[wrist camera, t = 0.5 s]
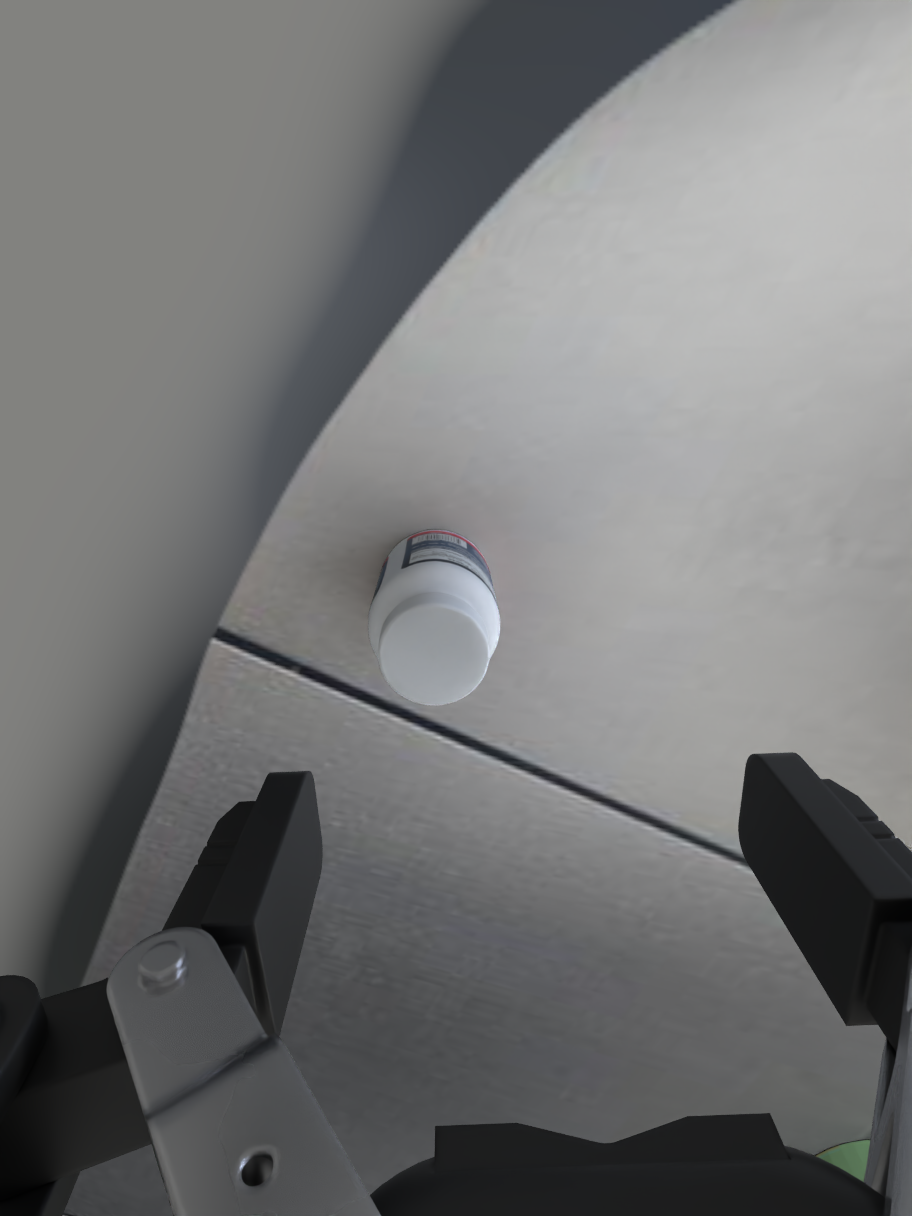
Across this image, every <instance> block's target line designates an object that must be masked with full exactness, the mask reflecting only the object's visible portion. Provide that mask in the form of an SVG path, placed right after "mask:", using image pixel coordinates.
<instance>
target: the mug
mask: <svg viewBox="0 0 912 1216" xmlns="http://www.w3.org/2000/svg"><path fill="white" fill-rule="evenodd" d="M869 1145H870V1140H863V1141H856V1142H850V1143H846V1144H842V1145H839V1146H836V1147H833V1148H831V1149H828V1150H826V1151H824V1152H822V1153H820V1154H818V1155H816V1157H819V1158H821V1159H823V1160H825V1161H827V1162H829V1163H831V1164H833V1165H835V1166H837V1167H839V1168H841V1169H843V1170H844V1171H846V1172H848V1173H849V1174H851V1175H853V1176H854V1177H856V1178H858V1179H860V1180H861V1181H863V1182H864V1177H865V1171H866V1165H867V1159H868V1152H869Z"/></svg>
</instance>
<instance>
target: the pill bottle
mask: <svg viewBox="0 0 912 1216" xmlns="http://www.w3.org/2000/svg"><path fill="white" fill-rule="evenodd" d="M368 633H369V639H370V643H371V646H372V649H373V651H374V653H375V655H376V657H377V658H378V662H379V666H380V670H381V672H382V675H383V677H384V678H385V680H386V681H387V683H388V684H389V686H390V687H391V688H392V689H393V690H394V691H395V692H396V693H398V694H400V695H401V696H402V697H404V698H406V699H407V700H410V701H412V702H415V703H418V704H423V705H445V704H449V703H452V702H455V701H458V700H460V699H462V698H463V697H465V696H467V695H469V694H470V693H471V692H472V691H473V690H474V689H475V688H476V687H477V686H478V685H479V683H480V682H481V681H482V679H483V677H484V675H485V673H486V670H487V667H488V664H489V659H490V658H491V656H492V655H493V653H494V651H495V649H496V646H497V643H498V639H499V634H500V615H499V609H498V605H497V600H496V596H495V592H494V588H493V584H492V579H491V574H490V570H489V567H488V565H487V562H486V560H485V558H484V556H483V555H482V553H481V552H480V551H479V549H478V548H477V547H476V546H475V545H474V544H473V543H472V542H470V541H469V540H468V539H466V538H465V537H463V536H461V535H459V534H456V533H453V532H450V531H446V530H425V531H421V532H418V533H415V534H413V535H411V536H409V537H407V538H405V539H404V540H402V541H401V542H400V543H399V544H398V545H397V546H396V547H395V548H394V549H393V550H392V551H391V552H390V554H389V555H388V557H387V558H386V560H385V562H384V564H383V567H382V570H381V573H380V576H379V580H378V583H377V587H376V590H375V594H374V597H373V600H372V603H371V606H370V610H369V616H368Z"/></svg>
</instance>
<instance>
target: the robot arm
mask: <svg viewBox="0 0 912 1216" xmlns="http://www.w3.org/2000/svg"><path fill="white" fill-rule="evenodd" d="M738 832H739V840H740V845H741V849H742V852H743V855H744V857H745V859H746V861H747V863H748V864H749V866H750V868H751V869H752V871H753V873H754V874H755V876H756V878H757V879H758V881H759V883H760V884H761V886H762V888H763V889H764V891H765V892H766V894H767V896H768V897H769V899H770V901H771V902H772V904H773V906H774V907H775V909H776V911H777V912H778V914H779V916H780V917H781V919H782V920H783V922H784V924H785V925H786V927H787V929H788V930H789V932H790V934H791V935H792V937H793V939H794V940H795V942H796V944H797V945H798V947H799V949H800V950H801V952H802V953H803V955H804V957H805V958H806V960H807V962H808V963H809V965H810V967H811V968H812V970H813V972H814V973H815V975H816V977H817V978H818V980H819V981H820V983H821V985H822V986H823V988H824V990H825V991H826V993H827V995H828V996H829V998H830V1000H831V1001H832V1003H833V1005H834V1006H835V1008H836V1009H837V1011H838V1013H839V1014H840V1016H841V1018H842V1019H843V1021H844V1023H845V1024H846V1026H854V1025H879V1027H880V1028H881V1030H882V1031H883V1033H884V1034H885V1036H886V1037H887V1038H886V1042H885V1046H884V1050H883V1053H882V1060H881V1067H880V1074H879V1081H878V1088H877V1095H876V1102H875V1110H874V1117H873V1124H872V1131H871V1138H870V1145H869V1152H868V1159H867V1165H866V1171H865V1177H864V1182H863V1181H861V1180H860V1179H858V1178H856V1177H854V1176H853V1175H851V1174H849V1173H848V1172H846V1171H844V1170H843V1169H841V1168H839V1167H837V1166H835V1165H833V1164H831V1163H829V1162H827V1161H825V1160H823V1159H821V1158H819V1157H816V1156H814V1155H811V1154H808V1153H805V1152H803V1151H800V1150H797V1149H794V1148H791V1147H787V1146H784V1145H783V1142H782V1140H781V1138H780V1136H779V1133H778V1131H777V1129H776V1126H775V1124H774V1122H773V1119H772V1117H771V1115H770V1113H765V1114H739V1115H713V1116H687V1117H685V1118H682V1119H679V1120H676V1121H673V1122H671V1123H668V1124H665V1125H662V1126H659V1127H657V1128H654V1129H651V1130H648V1131H645V1132H643V1133H640V1134H637V1135H634V1136H631V1137H629V1138H626V1139H623V1140H620V1141H617V1142H614V1143H605V1144H604V1143H598V1142H593V1141H589V1140H585V1139H581V1138H577V1137H573V1136H569V1135H565V1134H561V1133H556V1132H552V1131H548V1130H544V1129H540V1128H536V1127H532V1126H528V1125H524V1124H519V1123H504V1124H478V1125H452V1126H435V1157H433V1158H430V1159H428V1160H425V1161H422V1162H420V1163H417V1164H416V1165H414V1166H412V1167H410V1168H408V1169H406V1170H404V1171H402V1172H400V1173H398V1174H397V1175H396V1176H394V1177H393V1178H391V1179H390V1180H388V1181H387V1182H385V1183H384V1184H382V1185H381V1186H380V1187H379V1188H378V1189H376V1190H375V1191H374V1192H373V1193H372V1194H371V1195H369V1193H368V1192H367V1190H366V1188H365V1186H364V1185H363V1183H362V1181H361V1179H360V1177H359V1176H358V1174H357V1172H356V1170H355V1169H354V1167H353V1165H352V1163H351V1161H350V1160H349V1158H348V1156H347V1154H346V1152H345V1151H344V1149H343V1147H342V1145H341V1144H340V1142H339V1140H338V1138H337V1136H336V1135H335V1133H334V1131H333V1129H332V1128H331V1126H330V1124H329V1122H328V1120H327V1119H326V1117H325V1115H324V1113H323V1112H322V1110H321V1108H320V1106H319V1104H318V1103H317V1101H316V1099H315V1097H314V1096H313V1094H312V1092H311V1090H310V1088H309V1087H308V1085H307V1083H306V1081H305V1079H304V1078H303V1076H302V1074H301V1072H300V1071H299V1069H298V1067H297V1065H296V1063H295V1062H294V1060H293V1058H292V1056H291V1055H290V1053H289V1051H288V1049H287V1048H286V1046H285V1044H284V1043H283V1041H282V1040H281V1038H280V1037H279V1035H280V1032H281V1028H282V1024H283V1020H284V1016H285V1012H286V1008H287V1004H288V1000H289V996H290V992H291V988H292V985H293V981H294V977H295V973H296V969H297V965H298V961H299V957H300V953H301V949H302V945H303V941H304V938H305V934H306V930H307V926H308V922H309V918H310V914H311V910H312V906H313V902H314V898H315V894H316V890H317V887H318V883H319V879H320V874H321V868H322V836H321V829H320V822H319V814H318V807H317V799H316V792H315V784H314V779H313V775H312V773H311V772H310V771H299V772H274V773H269V774H268V775H267V777H266V779H265V782H264V784H263V786H262V788H261V791H260V793H259V795H258V797H257V799H256V801H247V802H238V803H237V804H236V805H235V806H234V807H233V808H232V809H231V810H230V811H229V812H227V813H226V814H225V815H224V816H223V817H222V818H221V819H220V820H219V821H218V822H217V824H216V826H215V828H214V830H213V832H212V834H211V836H210V838H209V840H208V842H207V847H205V848H204V850H203V851H202V853H201V855H200V857H199V859H198V865H195V867H194V869H193V871H192V873H191V875H190V877H189V879H188V881H187V883H186V885H185V887H184V888H183V890H182V892H181V894H180V896H179V898H178V900H177V902H176V904H175V906H174V908H173V910H172V912H171V914H170V916H169V918H168V920H167V922H166V924H165V926H164V927H163V929H162V931H161V932H158V933H156V934H153V935H151V936H149V937H147V938H145V939H144V940H142V941H140V942H139V943H138V944H136V945H135V946H133V947H132V948H131V949H130V950H129V951H127V952H126V953H125V954H124V955H123V956H122V958H121V959H120V960H119V961H118V962H117V964H116V965H115V966H114V968H113V970H112V972H111V974H110V976H109V978H106V979H104V980H102V981H99V982H96V983H93V984H90V985H87V986H83V987H80V988H77V989H73V990H70V991H67V992H63V993H60V994H57V995H54V996H51V997H47V998H44V999H41V998H40V995H39V992H38V989H37V987H36V986H35V984H34V983H33V982H32V981H31V980H29V979H28V978H25V977H22V976H16V975H6V976H0V1216H62V1215H63V1212H64V1210H65V1207H66V1205H67V1203H68V1200H69V1198H70V1195H71V1193H72V1190H73V1188H74V1185H75V1183H76V1180H77V1178H78V1176H79V1173H80V1171H82V1170H84V1169H87V1168H90V1167H92V1166H95V1165H97V1164H100V1163H103V1162H105V1161H108V1160H110V1159H113V1158H116V1157H118V1156H121V1155H124V1154H126V1153H129V1152H131V1151H134V1150H137V1149H139V1148H142V1147H145V1146H147V1145H150V1144H151V1145H152V1148H153V1151H154V1154H155V1158H156V1161H157V1164H158V1167H159V1171H160V1174H161V1177H162V1180H163V1183H164V1187H165V1190H166V1193H167V1196H168V1200H169V1203H170V1206H171V1209H172V1213H173V1216H912V852H911V851H910V850H909V849H908V848H907V847H906V845H905V844H904V843H903V842H902V841H901V840H900V839H899V838H895V836H894V833H893V832H892V831H891V830H890V829H889V828H888V827H887V826H886V825H885V824H884V823H883V822H882V821H879V820H878V816H877V815H876V814H875V813H874V812H873V811H872V810H871V809H870V808H869V807H868V806H867V805H866V804H865V803H864V802H863V801H862V800H861V799H860V798H859V797H858V796H857V795H855V794H854V793H852V792H850V791H849V790H847V789H845V788H844V787H842V786H840V785H839V784H837V783H835V782H834V781H832V780H830V779H820V778H819V777H818V775H817V774H816V773H815V772H814V771H813V770H812V769H811V768H810V767H809V766H808V764H807V763H806V762H805V761H804V760H803V759H802V758H801V757H800V756H799V755H798V754H796V753H768V754H752V755H750V756H749V758H748V760H747V763H746V768H745V776H744V784H743V792H742V800H741V808H740V816H739V825H738Z"/></svg>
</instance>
